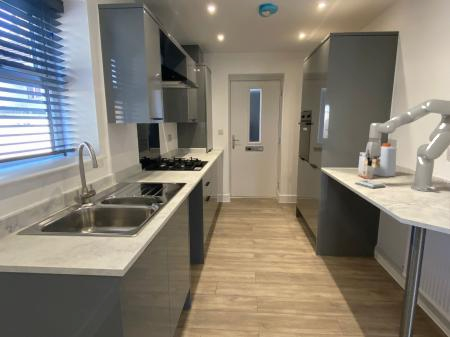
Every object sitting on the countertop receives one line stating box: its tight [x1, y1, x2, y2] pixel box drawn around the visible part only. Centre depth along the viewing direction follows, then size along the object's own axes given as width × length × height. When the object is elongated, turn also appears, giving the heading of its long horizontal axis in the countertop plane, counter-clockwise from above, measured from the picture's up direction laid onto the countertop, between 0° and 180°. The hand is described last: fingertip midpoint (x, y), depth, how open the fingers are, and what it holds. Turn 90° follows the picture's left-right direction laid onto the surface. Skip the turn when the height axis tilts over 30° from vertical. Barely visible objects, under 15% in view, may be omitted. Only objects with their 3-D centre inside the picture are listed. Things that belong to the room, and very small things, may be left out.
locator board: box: [354, 179, 387, 190], centre depth 191 cm, size 15×13×2 cm
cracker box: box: [357, 151, 374, 180], centre depth 217 cm, size 14×6×21 cm, turn 179°
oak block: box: [365, 158, 381, 168], centre depth 188 cm, size 4×9×6 cm, turn 19°
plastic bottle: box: [373, 142, 397, 178], centre depth 226 cm, size 15×15×28 cm
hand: (372, 165), depth 189 cm, fingers closed on oak block, 4 cm apart
